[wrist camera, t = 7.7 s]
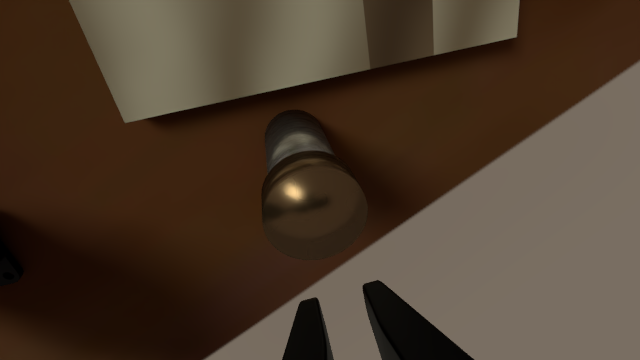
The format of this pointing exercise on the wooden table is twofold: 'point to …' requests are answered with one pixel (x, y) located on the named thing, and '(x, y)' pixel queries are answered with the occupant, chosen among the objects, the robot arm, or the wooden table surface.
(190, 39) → the board
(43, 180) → the wooden table surface
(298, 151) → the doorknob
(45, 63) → the wooden table surface
